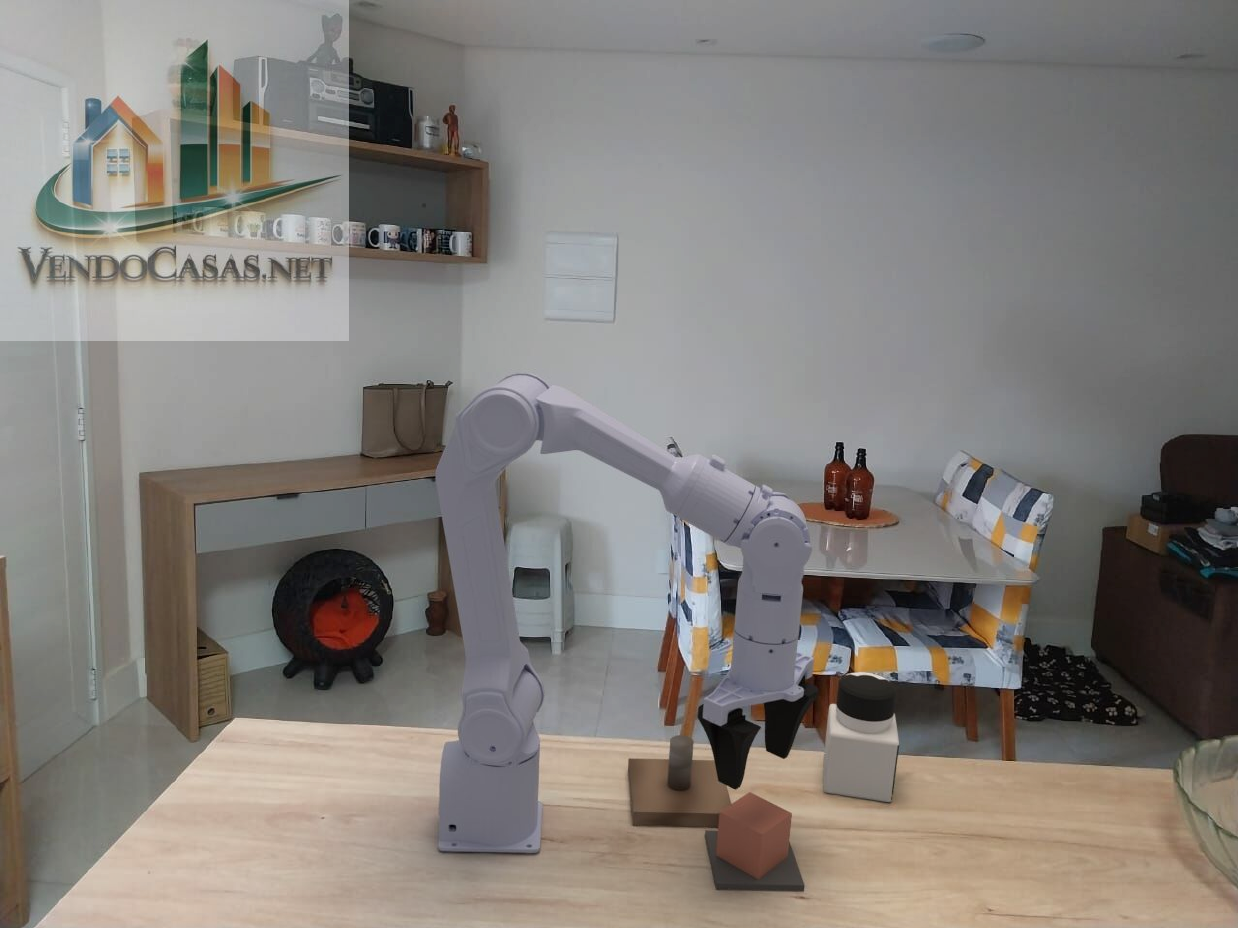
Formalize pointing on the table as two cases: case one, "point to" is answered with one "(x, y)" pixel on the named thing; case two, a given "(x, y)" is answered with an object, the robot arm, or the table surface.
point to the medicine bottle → (862, 739)
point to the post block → (676, 789)
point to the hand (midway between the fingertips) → (753, 768)
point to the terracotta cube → (753, 834)
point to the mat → (736, 879)
